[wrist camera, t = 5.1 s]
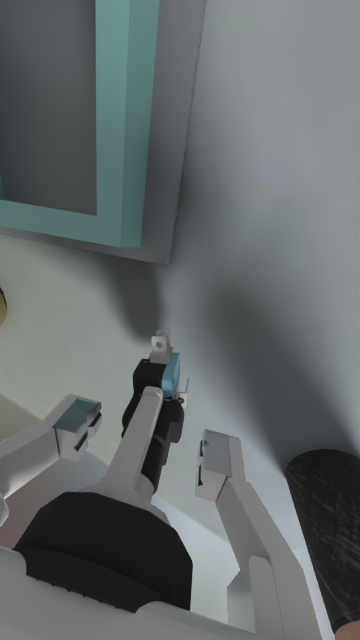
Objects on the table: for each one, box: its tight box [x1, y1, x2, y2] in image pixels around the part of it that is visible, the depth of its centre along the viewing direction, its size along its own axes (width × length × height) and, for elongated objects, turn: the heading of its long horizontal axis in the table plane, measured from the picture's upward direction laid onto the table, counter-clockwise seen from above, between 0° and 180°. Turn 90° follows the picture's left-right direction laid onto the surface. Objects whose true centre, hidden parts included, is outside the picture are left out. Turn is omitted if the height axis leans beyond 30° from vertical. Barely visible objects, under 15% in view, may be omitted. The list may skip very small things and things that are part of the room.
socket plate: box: [0, 0, 206, 265], centre depth 9 cm, size 14×14×4 cm
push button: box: [11, 329, 193, 614], centre depth 8 cm, size 7×5×10 cm
